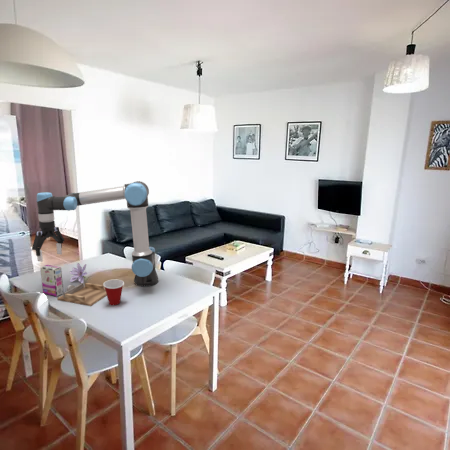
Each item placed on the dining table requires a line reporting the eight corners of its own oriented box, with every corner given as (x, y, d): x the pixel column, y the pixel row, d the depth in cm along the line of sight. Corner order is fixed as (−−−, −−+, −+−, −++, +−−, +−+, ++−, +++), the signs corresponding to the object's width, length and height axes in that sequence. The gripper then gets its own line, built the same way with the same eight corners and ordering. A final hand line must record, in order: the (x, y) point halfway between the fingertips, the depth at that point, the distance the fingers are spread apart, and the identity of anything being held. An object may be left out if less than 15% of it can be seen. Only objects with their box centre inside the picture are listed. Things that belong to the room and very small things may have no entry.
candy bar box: (64, 293, 184) (61, 267, 180) (56, 297, 179) (54, 269, 176) (50, 290, 188) (47, 264, 184) (42, 293, 183) (39, 266, 180)
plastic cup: (114, 309, 166) (112, 288, 164) (100, 304, 172) (98, 284, 169) (129, 301, 176) (128, 281, 173) (115, 297, 181) (114, 277, 178)
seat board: (111, 292, 187) (111, 284, 185) (90, 306, 170) (90, 297, 169) (80, 287, 193) (79, 279, 191) (57, 300, 176) (56, 291, 174)
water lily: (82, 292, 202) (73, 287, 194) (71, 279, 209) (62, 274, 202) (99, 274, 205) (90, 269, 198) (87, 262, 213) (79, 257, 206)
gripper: (58, 216, 187) (61, 250, 191) (21, 224, 163) (25, 263, 168) (69, 217, 185) (72, 252, 189) (32, 226, 161) (37, 265, 166)
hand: (50, 257), depth 179 cm, fingers open, 13 cm apart
